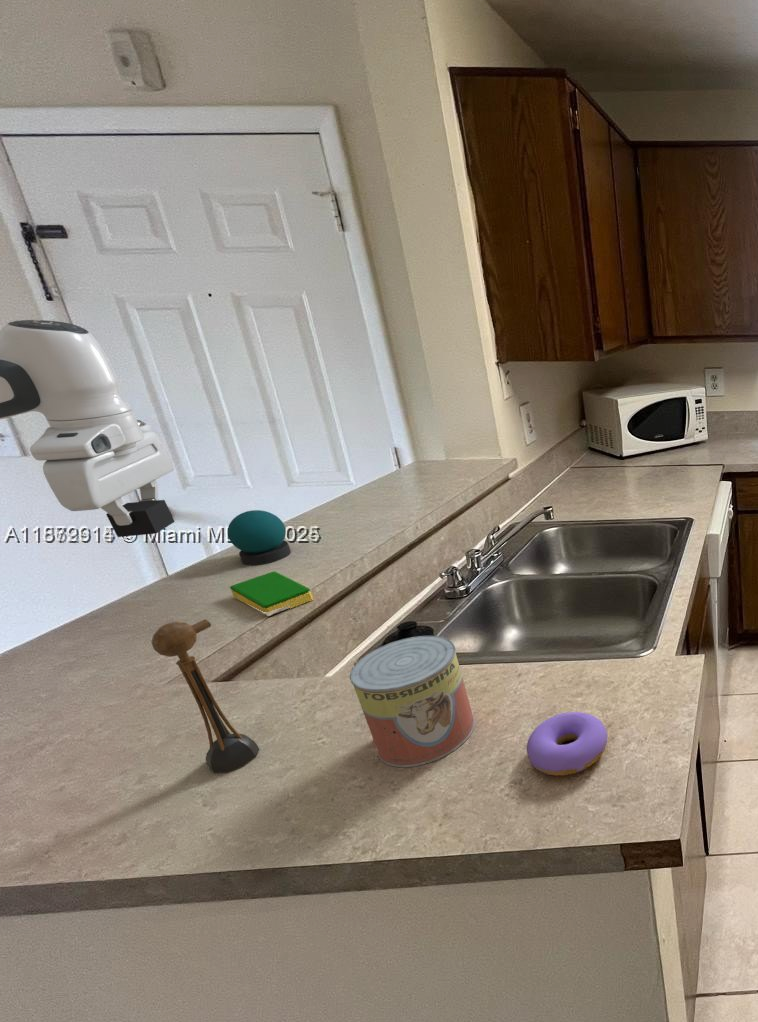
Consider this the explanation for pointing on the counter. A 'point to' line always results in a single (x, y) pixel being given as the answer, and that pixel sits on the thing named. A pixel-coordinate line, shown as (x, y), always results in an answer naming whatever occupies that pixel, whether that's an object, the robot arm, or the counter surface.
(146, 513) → the block
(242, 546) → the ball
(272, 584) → the dish sponge
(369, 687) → the canned food
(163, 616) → the counter surface
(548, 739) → the donut
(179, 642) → the wooden tabletop sculpture
